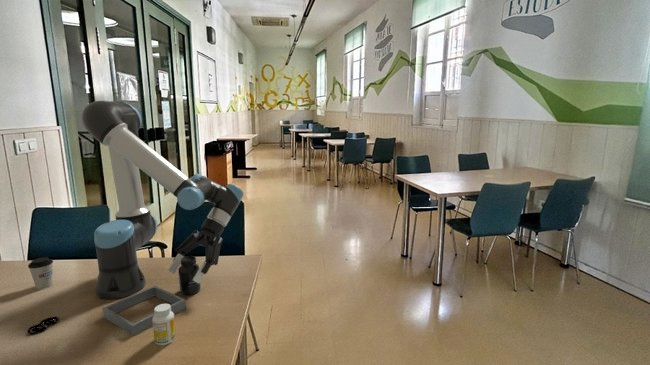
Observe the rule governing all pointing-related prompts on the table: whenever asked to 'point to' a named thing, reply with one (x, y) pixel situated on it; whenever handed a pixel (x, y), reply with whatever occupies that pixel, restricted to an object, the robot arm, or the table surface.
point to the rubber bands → (36, 330)
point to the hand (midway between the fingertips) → (182, 276)
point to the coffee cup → (41, 272)
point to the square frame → (145, 323)
